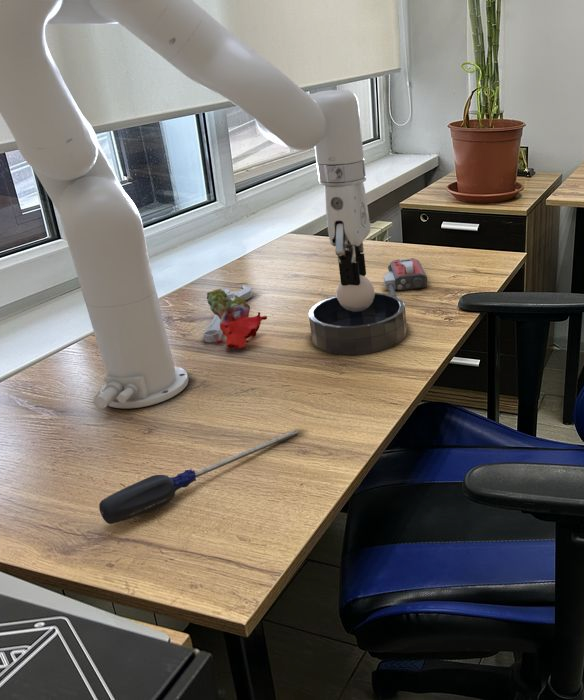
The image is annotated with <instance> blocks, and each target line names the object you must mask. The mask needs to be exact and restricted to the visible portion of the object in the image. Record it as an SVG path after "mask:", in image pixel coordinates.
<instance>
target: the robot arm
mask: <svg viewBox="0 0 584 700" xmlns="http://www.w3.org/2000/svg"><path fill="white" fill-rule="evenodd" d="M110 24H111V25H112V24H113V25H114V24H120V25H121V26H122V27H123V28H125V30H127V31H128V32H130V33H131V34H132V35H133V36H135V37H136V38H138V39H139V40H140V41H141V42H143V43H144V44H145V45H146V46H148V47H149V48H150V49H152V50H153V51H154V52H156V53H157V54H158V55H159V56H161V57H162V59H164V60H165V61H166V62H168V63H169V64H171V66H172V67H174V68H175V69H176V70H178V71H179V72H180V73H181V74H183V75H184V76H186V77H187V78H188V79H190V80H191V81H193V82H194V83H196V84H197V85H199V86H201V88H202V87H203V88H204V89H207V90H209V91H210V92H212V93H215V94H216V95H218V96H220V97H222V98H224V99H226V100H227V101H229V102H230V103H232V104H233V105H235V106H236V107H237V108H239V109H241V110H242V111H243V112H245V113H246V114H247V115H249V116H250V117H251V118H252V119H254V120H255V122H256V126H257V128H258V130H259V131H260V133H261V134H262V135H263V136H264V137H265V138H266V139H268V140H269V141H271V142H273V143H276V144H278V145H280V146H284V147H286V148H289V149H291V150H294V151H307V150H311V149H313V148H314V152H315V153H314V154H315V162H316V168H317V169H316V170H317V175H318V183H319V185H321V186H324V201H325V215H326V225H327V233H328V240H329V243H330V245H331V246H333V247H335V251H334V252H335V255H336V256H337V263H338V271H339V278H340V281H341V284H342V285H343V286H347V285H359V284H360V275H362V276H365V277H366V275H367V267H366V259H365V253H364V251H365V249H364V242H365V240H366V238H367V237H368V236H369V234H370V232H371V222H370V215H369V214H370V213H369V208H368V201H367V200H368V199H367V195H366V188H365V184H364V183H365V182H366V180H367V176H366V166H365V155H364V146H363V136H362V126H361V116H360V105H359V99H358V97H357V95H356V94H355V92H354V91H351V90H348V89H329V90H321V91H317V92H314V93H307V92H305V91H304V90H303V89H302V88H301V87H300V86H299V85H298V84H297V83H296V82H294V80H292V79H291V78H289V77H288V76H287V75H286V74H285V73H284V72H282V71H281V70H280V69H279V68H278V67H276V66H275V65H274V64H272V62H270V61H269V60H268V59H266V58H265V57H263V55H261V54H259V52H257V51H255V50H254V49H253V48H251V47H250V46H249V45H248V44H247V43H245V42H244V41H243V40H242V39H241V38H239V37H238V36H236V35H235V34H234V33H233V32H231V31H230V30H228V29H227V28H226V27H225V26H224V25H222V24H221V23H220V22H219V21H218V20H217V19H216V18H214V17H213V16H212V15H211V14H209V12H207V11H206V10H204V8H203V7H201V6H200V5H199V4H198V3H197V2H195V1H194V0H0V116H1V117H2V119H3V120H4V122H5V124H6V126H7V127H8V129H9V131H10V133H11V134H12V137H13V138H14V141H15V144H16V146H17V149H18V152H19V153H20V155H21V157H22V158H23V159H24V161H25V162H26V163H27V164H28V166H30V167H31V169H32V170H33V172H34V174H35V175H36V177H37V179H38V181H39V182H40V184H41V185H42V187H43V189H44V190H45V192H46V194H47V195H48V197H49V198H50V200H51V202H52V204H53V205H54V208H55V209H56V211H57V212H58V214H59V216H60V221H61V225H62V228H63V232H64V235H65V239H66V242H67V245H68V248H69V252H70V255H71V258H72V262H73V265H74V269H75V272H76V275H77V279H78V282H79V287H80V291H81V294H82V297H83V301H84V303H85V306H86V310H87V313H88V317H89V320H90V324H91V327H92V331H93V334H94V337H95V341H96V345H97V348H98V351H99V355H100V359H101V362H102V365H103V369H104V373H105V376H104V378H103V380H104V384H103V385H102V386H101V387H100V390H99V394H98V395H97V396H96V397H94V398H93V403H94V405H95V406H96V407H97V408H99V409H105V408H107V407H110V408H115V409H122V410H123V409H127V410H128V409H140V408H144V407H149V406H154V405H157V404H160V403H162V402H165V401H167V400H169V399H172V398H174V397H175V396H177V395H179V394H180V393H181V392H182V391H184V390H185V388H186V387H187V385H188V384H189V375H188V373H187V371H186V370H185V369H184V368H182V367H179V366H176V365H175V363H174V359H173V355H172V351H171V346H170V342H169V337H168V333H167V330H166V326H165V325H166V324H165V321H164V317H163V312H162V308H161V303H160V299H159V296H158V292H157V288H156V284H155V279H154V276H153V273H152V271H153V270H152V267H151V262H150V257H149V251H148V247H147V241H146V234H145V229H144V224H143V220H142V217H141V215H140V212H139V210H138V208H137V206H136V204H135V202H134V201H133V199H131V197H130V196H129V195H128V193H127V192H126V191H125V189H124V187H123V186H122V184H121V182H120V181H119V179H118V177H117V175H116V173H115V172H114V170H113V167H112V166H111V163H110V162H109V160H108V159H107V156H106V154H105V152H104V150H103V148H102V147H101V145H100V143H99V142H98V138H97V134H96V132H95V129H94V128H93V126H92V125H91V123H90V121H88V119H87V117H86V116H85V115H83V112H82V110H81V109H80V108H79V106H78V104H77V102H76V100H75V99H74V97H73V95H72V93H71V91H70V90H69V87H68V86H67V84H66V82H65V80H64V77H63V76H62V74H61V72H60V69H59V67H58V66H57V63H56V62H55V60H54V58H53V56H52V54H51V51H50V49H49V47H48V43H47V39H46V26H47V25H110Z"/></svg>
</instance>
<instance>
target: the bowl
mask: <svg viewBox="0 0 584 700" xmlns="http://www.w3.org/2000/svg"><path fill="white" fill-rule="evenodd" d="M374 292H375V296H374V299H373V302H372V304H371V305H370V306H369V307H368V308H367V309H365V310H363V311H358V312H352V311H349V310H346V309H345V308H344V307H343V306H341V304H340V303H339V301H338V299H337V295H334V296H331V297H329V298H327V299H323V300H321V301H319V302H317V303H316V304H314V305H313V306H312V307H311V308H310V309H309V311H308V320H309V327H310V334H311V341H312V343H313V345H314V347H316V348H317V349H318V350H320V351H322V352H325V353H327V354H328V353H329V354H332V355H341V356H356V355H357V356H359V355H368V354H372V353H377V352H380V351H384V350H387V349H390V348H392V347H394V346H396V345H397V344H400V342H402V341H403V340H404V338H405V337H406V336H407V329H408V326H407V314H406V313H407V312H406V305H405V301H403V299H401V298H399V297H398V296H397V295H396V296H397V297H396V296H393V295H391V294H390V293H384V292H376V291H374Z"/></svg>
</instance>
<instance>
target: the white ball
mask: <svg viewBox="0 0 584 700" xmlns="http://www.w3.org/2000/svg"><path fill="white" fill-rule="evenodd" d="M335 292H336V296H337V299H338V301H339V303H340V304H341V306H343V307H344V308H345V309H346V310H349V311H352V312H358V311H363V310H365V309H367V308H368V307H369V306H370V305H371V304H372V302H373V299H374V296H375V292H376V291H375V286H374V285H373V283H372V281H371V280H370V279H369V278H368V277H366V275H365V276H362V275H360V284H359V285H347V286H343V285H342V284H341V280H340V281H339V282H338V284H337V287H336V291H335Z"/></svg>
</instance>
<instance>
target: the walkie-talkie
mask: <svg viewBox="0 0 584 700" xmlns="http://www.w3.org/2000/svg"><path fill="white" fill-rule="evenodd" d="M387 270H388V272H386V273H385V274H383V284H384V290H385V291H389V295H393V296H396V297H398V295H397V292H396V290H397V291H407V290H417V289H424V288H426V287H427V286H428V285H427V282H428V277H427V274H426V272H425V270H424V268H423V267H422V264H421V262H420V260H419V259H417V258H414V257H412V258H400V259H394V260H392V261H391V262H389V265H388V266H387Z"/></svg>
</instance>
